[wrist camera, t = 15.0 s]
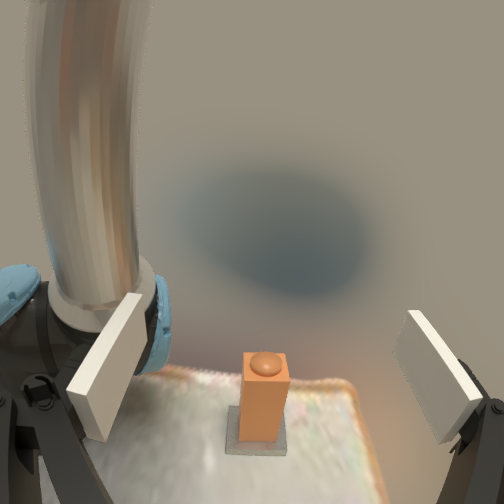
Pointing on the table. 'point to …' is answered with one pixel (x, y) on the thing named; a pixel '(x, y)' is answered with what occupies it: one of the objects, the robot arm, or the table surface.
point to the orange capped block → (262, 395)
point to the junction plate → (253, 446)
